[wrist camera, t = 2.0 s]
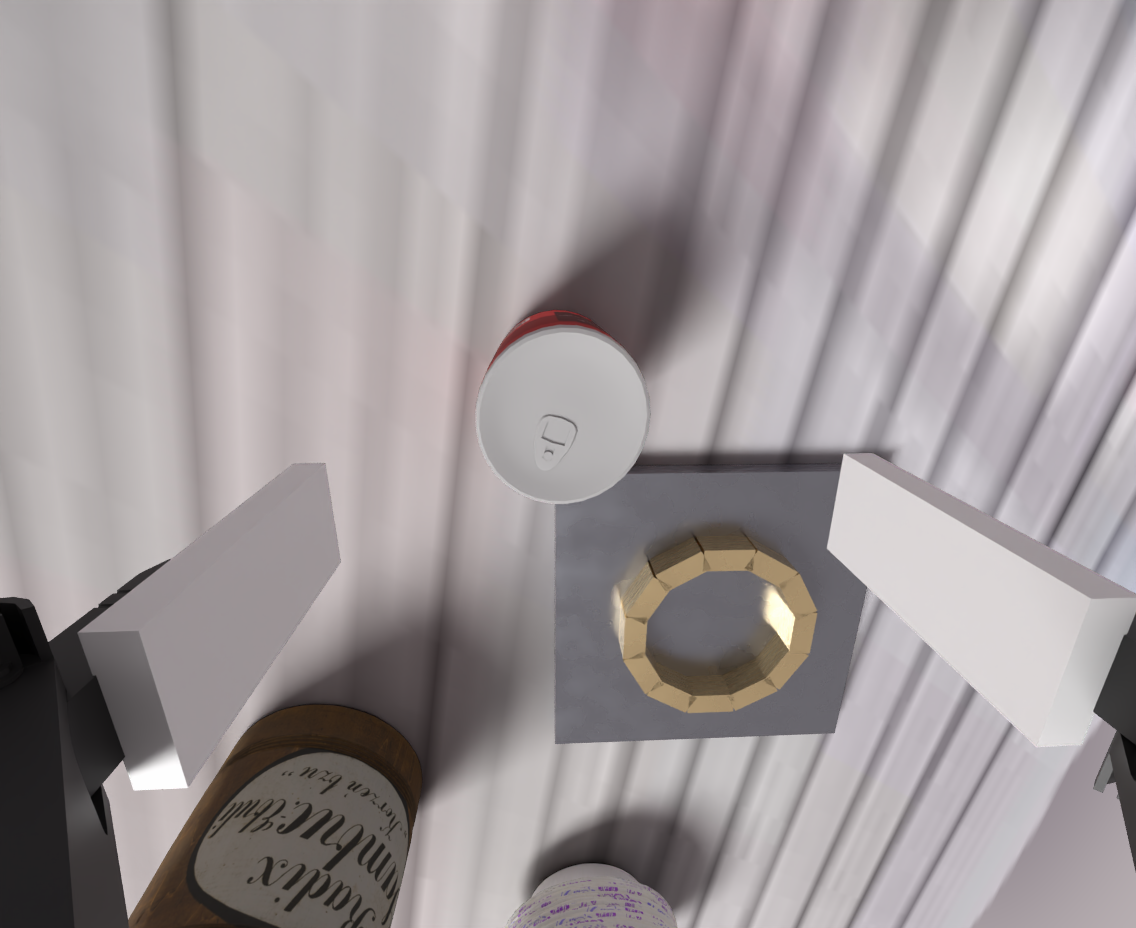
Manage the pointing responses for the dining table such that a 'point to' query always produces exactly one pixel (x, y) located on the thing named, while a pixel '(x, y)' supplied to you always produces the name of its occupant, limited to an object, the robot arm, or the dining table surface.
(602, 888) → the paper bowls
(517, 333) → the canned food
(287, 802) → the wooden container
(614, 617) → the collar plate
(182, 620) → the robot arm
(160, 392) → the dining table surface
